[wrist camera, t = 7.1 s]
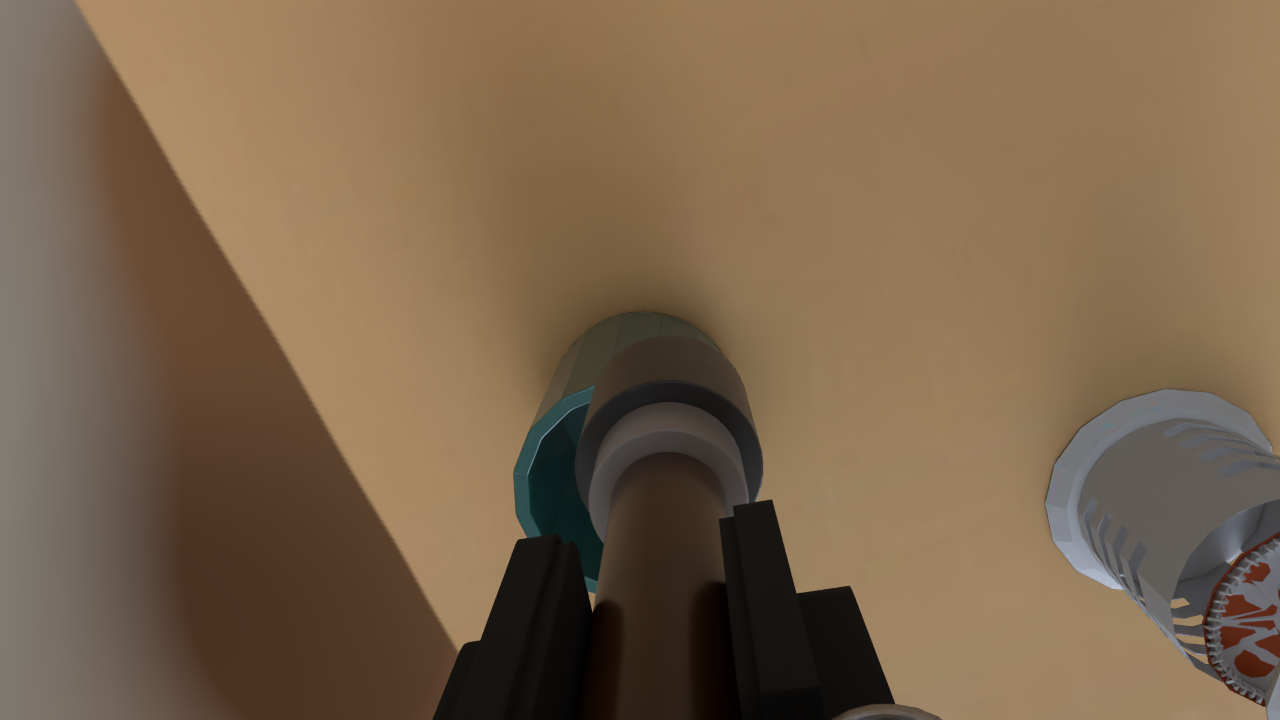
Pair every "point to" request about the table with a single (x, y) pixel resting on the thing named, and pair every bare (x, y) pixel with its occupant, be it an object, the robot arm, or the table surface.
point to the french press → (1182, 526)
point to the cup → (577, 433)
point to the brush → (664, 530)
